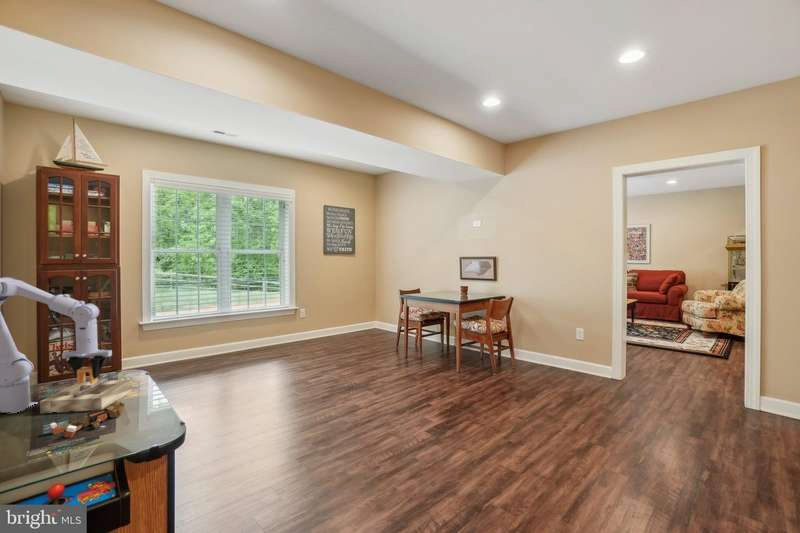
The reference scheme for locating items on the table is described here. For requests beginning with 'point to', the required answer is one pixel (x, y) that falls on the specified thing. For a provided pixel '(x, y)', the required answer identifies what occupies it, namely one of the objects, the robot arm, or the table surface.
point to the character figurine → (89, 419)
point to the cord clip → (82, 377)
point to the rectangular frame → (86, 396)
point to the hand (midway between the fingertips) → (88, 377)
